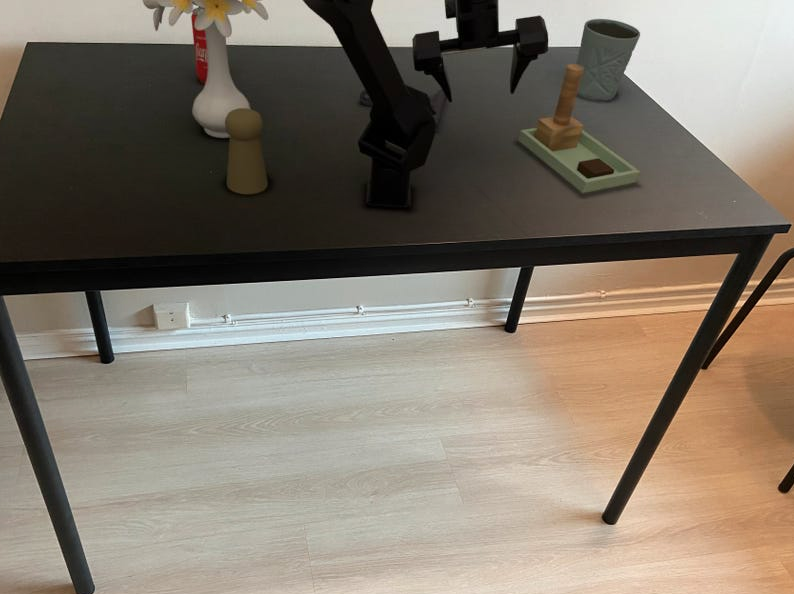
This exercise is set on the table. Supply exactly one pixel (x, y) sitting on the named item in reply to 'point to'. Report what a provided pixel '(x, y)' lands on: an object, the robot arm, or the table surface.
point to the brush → (563, 115)
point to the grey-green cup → (605, 56)
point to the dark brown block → (594, 168)
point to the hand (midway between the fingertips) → (480, 96)
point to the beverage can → (200, 49)
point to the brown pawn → (245, 152)
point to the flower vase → (212, 56)
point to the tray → (585, 150)
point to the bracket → (435, 99)
